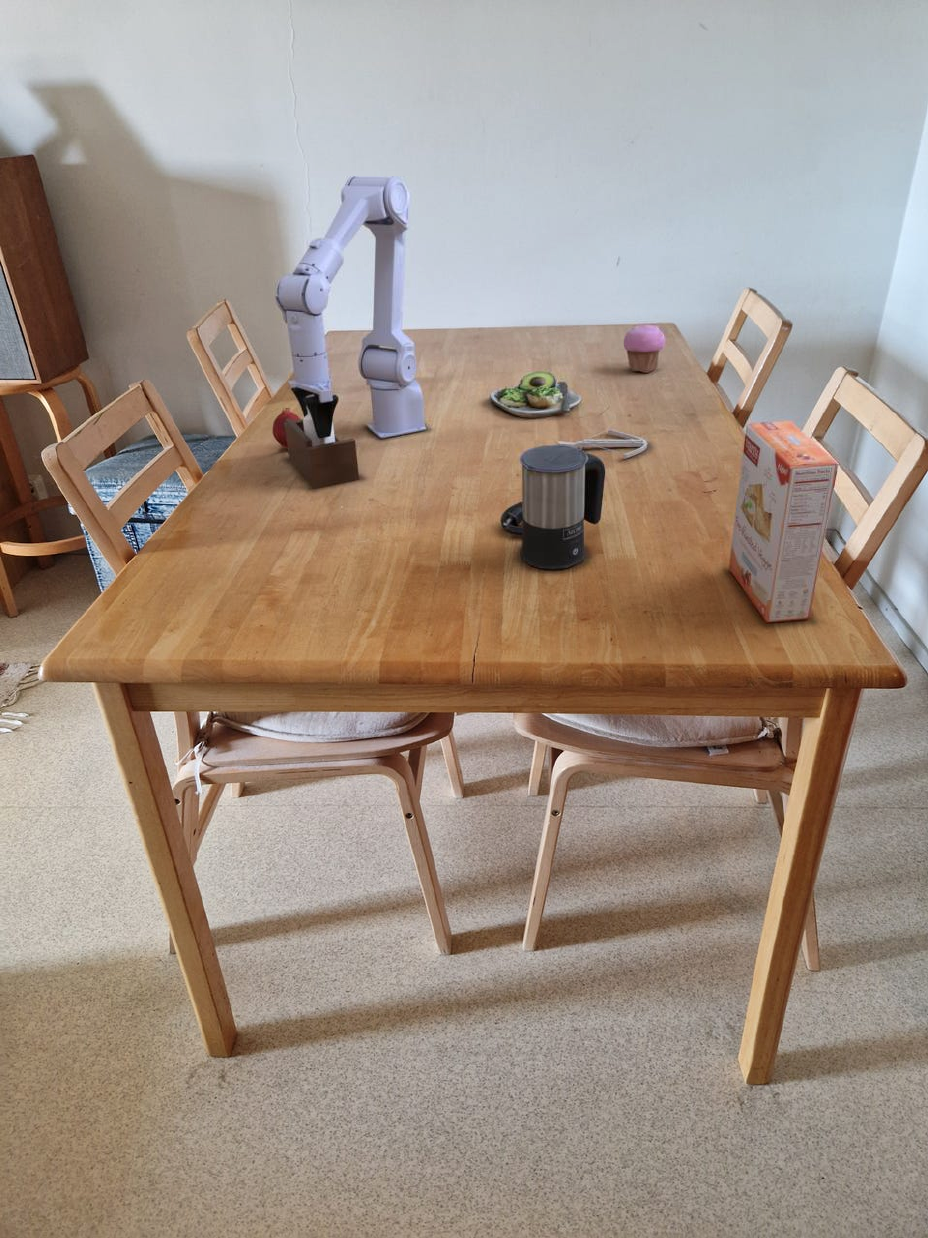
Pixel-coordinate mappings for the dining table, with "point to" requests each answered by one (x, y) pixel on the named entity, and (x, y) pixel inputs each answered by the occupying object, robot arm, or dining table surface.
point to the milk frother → (556, 504)
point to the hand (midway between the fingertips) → (319, 431)
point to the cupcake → (644, 347)
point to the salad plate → (536, 397)
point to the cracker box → (781, 519)
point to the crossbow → (612, 443)
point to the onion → (283, 426)
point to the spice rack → (321, 457)
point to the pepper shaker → (311, 432)
